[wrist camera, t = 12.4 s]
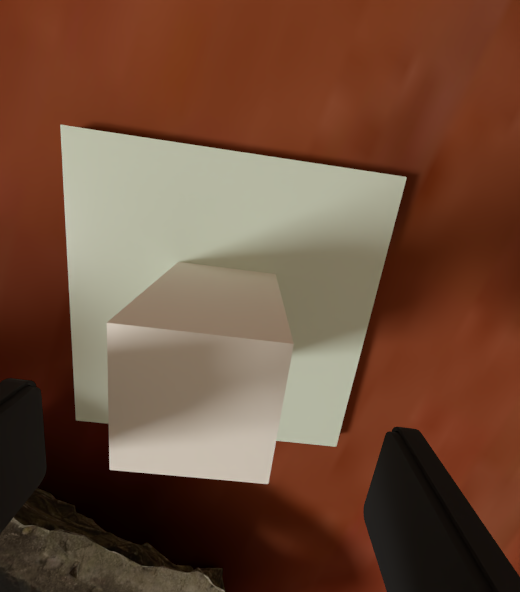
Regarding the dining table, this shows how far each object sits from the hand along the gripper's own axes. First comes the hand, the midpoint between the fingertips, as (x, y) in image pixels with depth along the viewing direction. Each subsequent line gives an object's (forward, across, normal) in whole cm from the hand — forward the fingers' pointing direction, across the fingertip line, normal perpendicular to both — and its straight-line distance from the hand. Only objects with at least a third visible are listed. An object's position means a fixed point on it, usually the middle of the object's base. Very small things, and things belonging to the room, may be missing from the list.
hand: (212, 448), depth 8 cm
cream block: (+9, +1, -1) cm, 9 cm away
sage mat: (+10, +1, -1) cm, 10 cm away
